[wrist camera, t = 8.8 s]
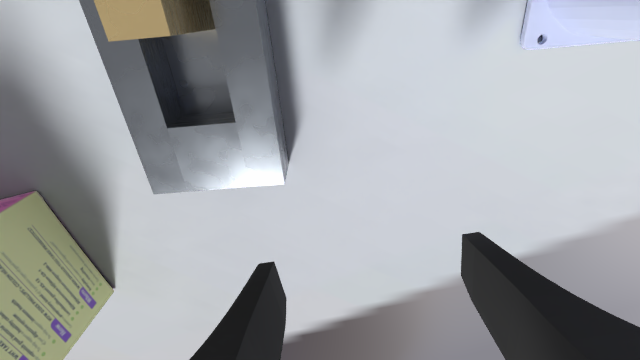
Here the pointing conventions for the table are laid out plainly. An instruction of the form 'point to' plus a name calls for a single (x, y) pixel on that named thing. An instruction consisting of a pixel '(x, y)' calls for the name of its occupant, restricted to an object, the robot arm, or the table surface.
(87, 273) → the box
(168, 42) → the block
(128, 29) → the clip
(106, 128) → the table surface
